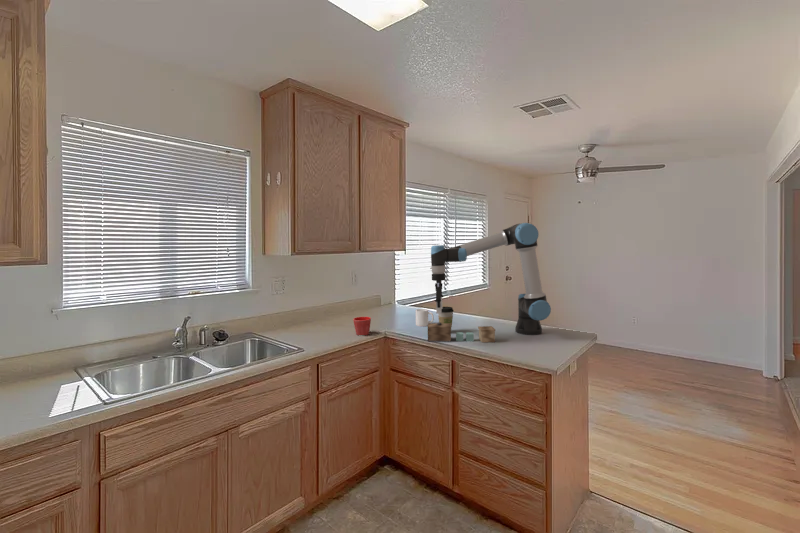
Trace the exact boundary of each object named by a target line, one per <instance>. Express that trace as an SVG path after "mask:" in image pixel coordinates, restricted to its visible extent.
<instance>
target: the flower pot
mask: <svg viewBox="0 0 800 533" xmlns="http://www.w3.org/2000/svg"><path fill="white" fill-rule="evenodd" d="M352 321H353V326H354V329H355V335H356V336H359V335H364V336H368V335H369V334H370V329H371V321H372V318H371V317H370V316H358V317H356V316H355V317H353V319H352Z"/></svg>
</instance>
